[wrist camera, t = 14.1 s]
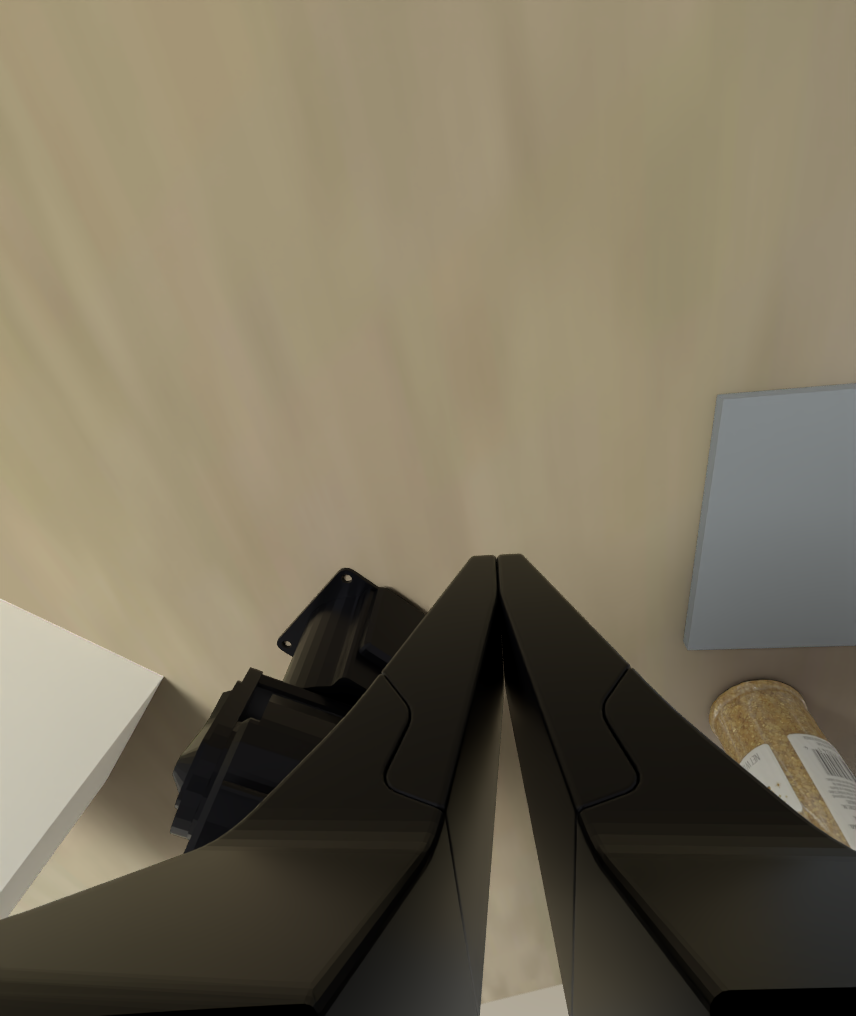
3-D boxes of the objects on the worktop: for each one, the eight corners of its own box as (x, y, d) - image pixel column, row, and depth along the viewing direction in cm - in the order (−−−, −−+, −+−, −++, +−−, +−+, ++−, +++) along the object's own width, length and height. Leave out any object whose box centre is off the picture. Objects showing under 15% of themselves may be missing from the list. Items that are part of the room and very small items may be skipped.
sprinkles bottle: (689, 700, 27) (850, 1064, 16) (779, 661, 26) (1034, 1034, 14) (731, 750, 29) (906, 1119, 17) (818, 717, 27) (1079, 1097, 15)
